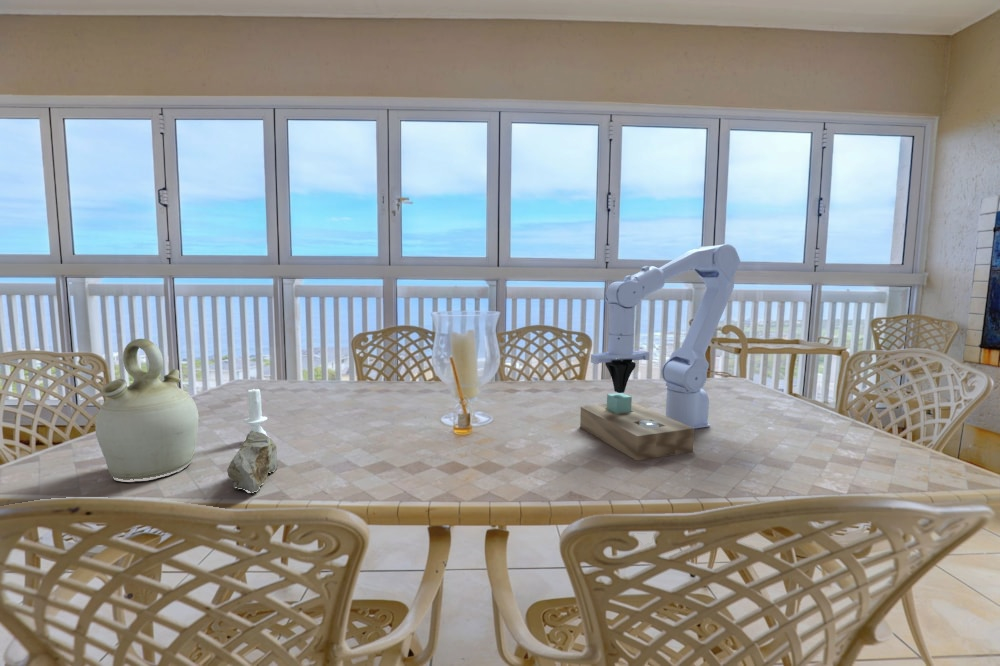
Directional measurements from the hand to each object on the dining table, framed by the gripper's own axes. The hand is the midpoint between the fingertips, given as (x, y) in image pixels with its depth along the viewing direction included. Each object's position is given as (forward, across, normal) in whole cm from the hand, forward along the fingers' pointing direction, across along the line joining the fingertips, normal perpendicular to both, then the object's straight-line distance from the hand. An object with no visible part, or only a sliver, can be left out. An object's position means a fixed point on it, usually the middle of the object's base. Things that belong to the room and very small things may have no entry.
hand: (619, 392), depth 109 cm
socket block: (+9, 0, +6) cm, 11 cm away
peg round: (+9, 0, +11) cm, 14 cm away
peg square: (+6, 0, 0) cm, 6 cm away
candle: (+10, +79, -22) cm, 83 cm away
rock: (+10, +77, +2) cm, 77 cm away
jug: (+10, +95, -12) cm, 96 cm away
